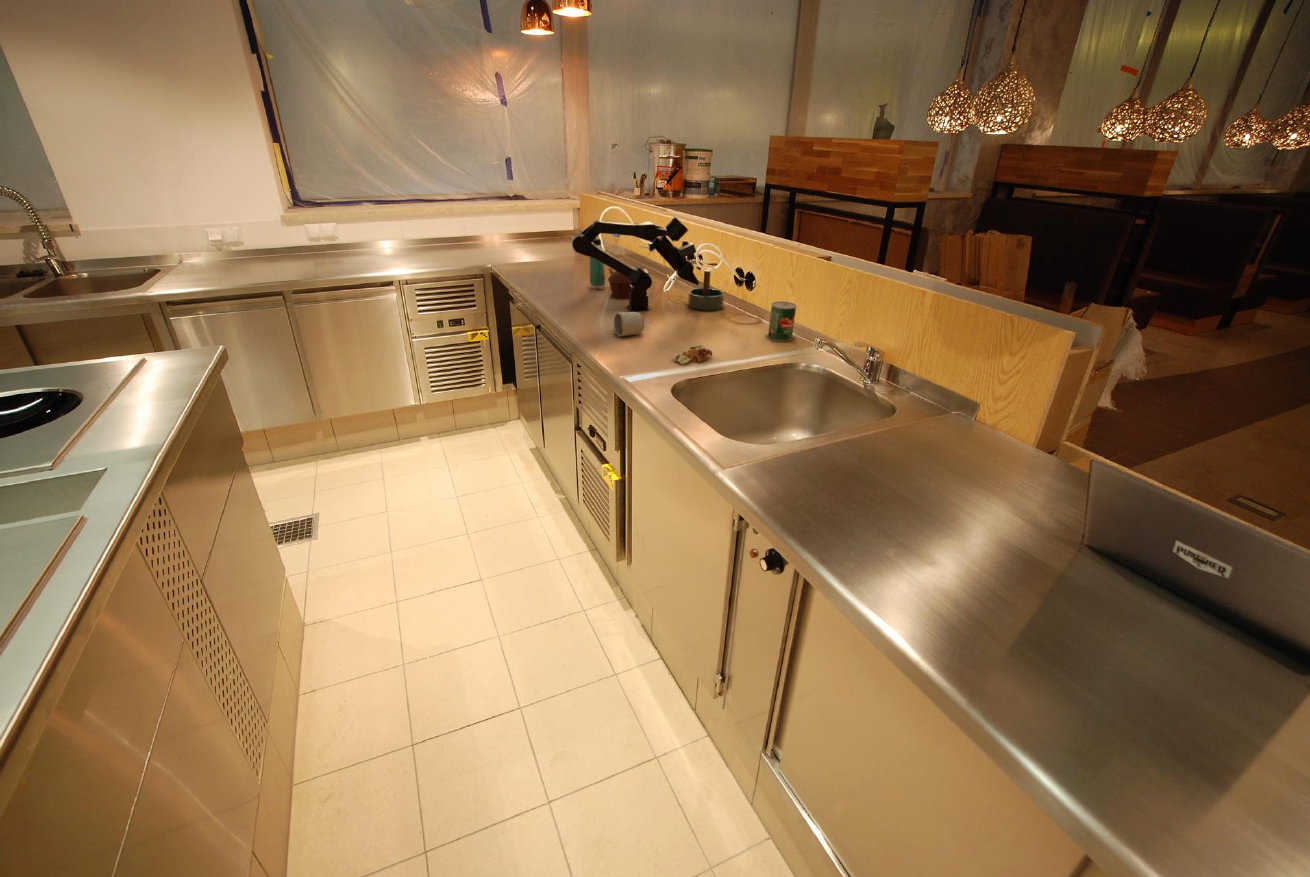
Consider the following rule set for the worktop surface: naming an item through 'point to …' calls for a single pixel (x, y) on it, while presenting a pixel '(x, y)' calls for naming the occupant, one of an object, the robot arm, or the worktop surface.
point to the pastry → (694, 354)
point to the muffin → (619, 285)
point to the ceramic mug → (628, 323)
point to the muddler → (706, 283)
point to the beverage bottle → (597, 269)
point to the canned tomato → (782, 321)
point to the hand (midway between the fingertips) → (695, 281)
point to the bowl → (705, 299)
